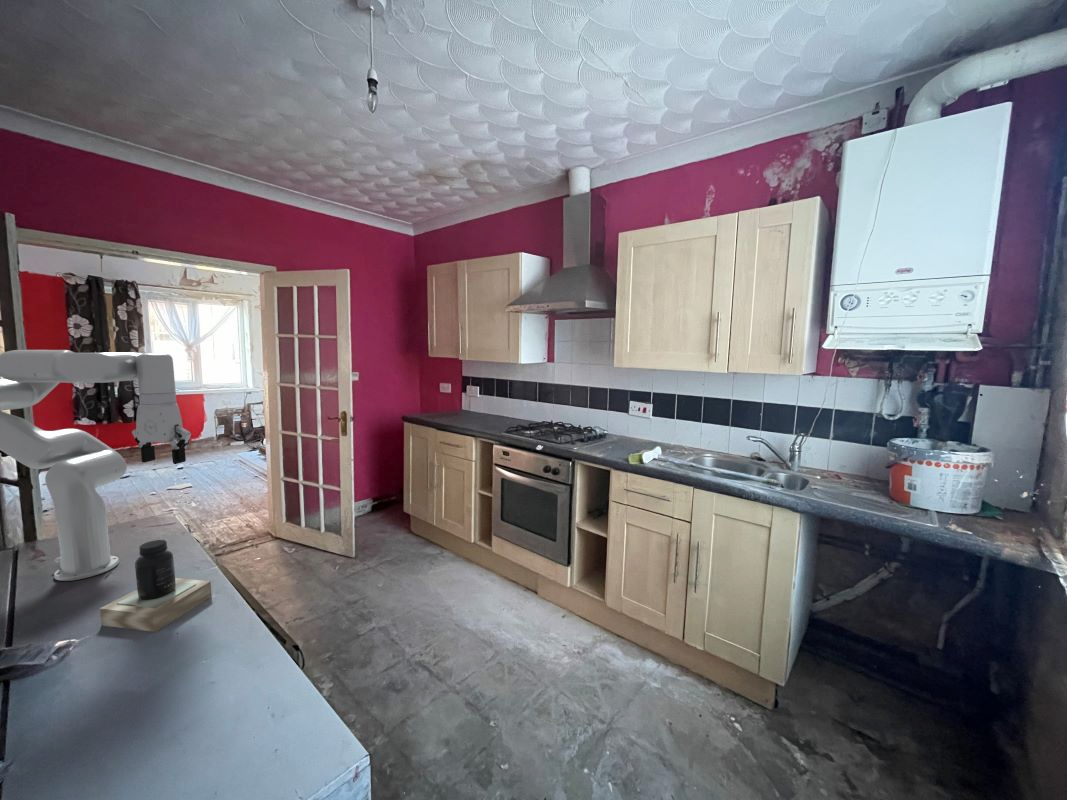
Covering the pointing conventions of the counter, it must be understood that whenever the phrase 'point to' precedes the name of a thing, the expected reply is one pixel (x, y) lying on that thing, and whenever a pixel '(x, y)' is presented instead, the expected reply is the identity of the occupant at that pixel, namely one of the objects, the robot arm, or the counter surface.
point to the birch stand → (155, 607)
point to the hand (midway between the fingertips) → (164, 462)
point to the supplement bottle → (154, 570)
